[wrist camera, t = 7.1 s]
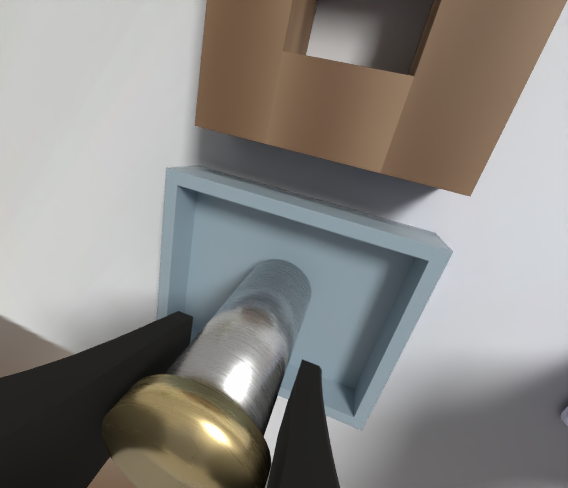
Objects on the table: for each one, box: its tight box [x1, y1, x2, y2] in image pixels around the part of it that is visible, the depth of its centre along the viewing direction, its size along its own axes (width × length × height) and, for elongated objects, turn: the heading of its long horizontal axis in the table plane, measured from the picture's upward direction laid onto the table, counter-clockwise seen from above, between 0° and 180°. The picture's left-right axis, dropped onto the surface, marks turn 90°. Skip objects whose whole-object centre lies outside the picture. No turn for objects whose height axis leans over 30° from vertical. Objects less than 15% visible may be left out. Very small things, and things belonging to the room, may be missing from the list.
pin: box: [101, 259, 312, 488], centre depth 10 cm, size 4×4×8 cm
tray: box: [157, 166, 453, 430], centre depth 14 cm, size 12×10×2 cm
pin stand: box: [195, 0, 567, 196], centre depth 9 cm, size 10×10×3 cm
